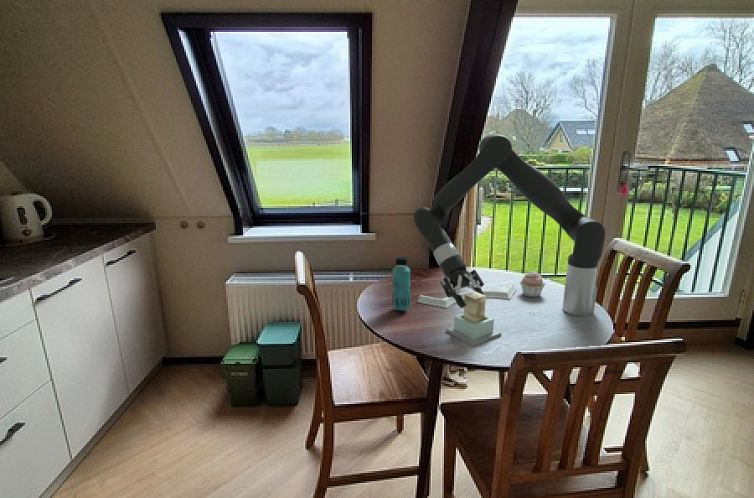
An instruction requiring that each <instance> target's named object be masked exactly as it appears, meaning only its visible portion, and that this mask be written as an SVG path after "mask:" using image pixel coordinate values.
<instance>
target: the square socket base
mask: <svg viewBox="0 0 754 498" xmlns="http://www.w3.org/2000/svg"><path fill="white" fill-rule="evenodd" d="M494 322H495V318H492V317H490V316H489V315H486V314H485V319H484V321H481V322H478V323H476V324H474V323H472V322H469V321H467V320H465V319H464V312H463V313H459V314H457V315H454V321H453V324H454V325H452V326H449V327H446V328H445V331H446V332H447V333H449V334H450V335H452V336H454V337H456V338H458V339H460V340H461V341H464V343H467V344H469V345H470V346H472V347H477V346H479V345H481V344H483V343H486V342H489V341H491V340H494V339H496V338H499V337H501V336H502V332H501V331H499V330H496V329H494V326H495V325H494Z"/></svg>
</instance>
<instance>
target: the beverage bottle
mask: <svg viewBox="0 0 754 498" xmlns="http://www.w3.org/2000/svg"><path fill="white" fill-rule="evenodd" d="M408 264H409V263H408V258H407V257H406V256H397V257H396V258H395V265H396V266H394V268H392V279H391V280H392V282H391V284H392V294H391V300H392V301H391V303H392V308H393V309H394V310H398V311H406V310H409V308H410V307H411V269H410V268H409V267H408V266H407V265H408Z"/></svg>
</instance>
